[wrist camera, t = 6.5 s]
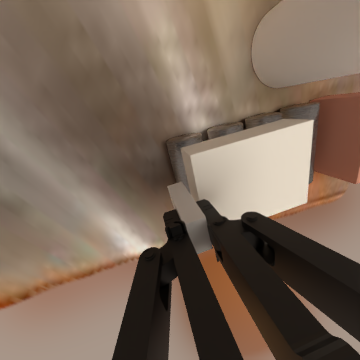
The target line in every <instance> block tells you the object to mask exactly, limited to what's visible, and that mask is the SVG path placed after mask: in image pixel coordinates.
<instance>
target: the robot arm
mask: <svg viewBox="0 0 360 360" xmlns="http://www.w3.org/2000/svg"><path fill="white" fill-rule="evenodd" d="M167 187H168V190H169V194H170V197H171V200H172V204H173V207H174V210H172V211H169V212H166V213H165V214H164V216H163V218H164V222H165V226H166V227H165V231H166V234H167V237H168V241H167V243H166V244H165V245H164V246H163V247H161V248H160V249H158V248H156V247H151V248H148V249H146V250H145V251H143V253H142V254H141V255H140V257H139V261H138V264H137V268H136V272H135V276H134V279H133V283H132V287H131V290H130V294H129V298H128V302H127V305H126V309H125V313H124V317H123V321H122V324H121V328H120V332H119V335H118V339H117V343H116V346H115V350H114V354H113V358H112V360H168V351H169V331H170V308H171V288H172V287H171V286H172V282H171V281H172V280H173V279H175V278H176V277H177V276H178V278H179V282H180V286H181V290H182V293H183V298H184V301H185V305H186V309H187V313H188V317H189V321H190V324H191V328H192V332H193V336H194V340H195V344H196V347H197V352H198V356H199V359H200V360H243V358H242V356H241V353H240V351H239V348H238V346H237V344H236V341H235V339H234V337H233V335H232V332H231V330H230V328H229V326H228V323H227V321H226V319H225V317H224V314H223V312H222V310H221V307H220V305H219V303H218V300H217V298H216V296H215V294H214V291H213V289H212V287H211V285H210V282H209V280H208V278H207V275H206V273H205V271H204V269H203V267H202V264H201V262H200V260H199V257H198V255H197V254H199V253H202V252H204V251H207V250H210V249H212V248H213V247H212V245H213V246H214V249H215V253H216V258H217V261H219V260H220V262H221V264H222V266H223V267H224V269H225V271H226V273H227V275H228V276H229V278H230V280H231V282H232V283H233V285H234V287H235V289H236V290H237V292H238V294H239V296H240V297H241V299H242V301H243V303H244V305H245V306H246V308H247V310H248V312H249V313H250V315H251V317H252V319H253V320H254V322H255V324H256V326H257V327H258V329H259V331H260V333H261V334H262V336H263V338H264V340H265V342H266V343H267V345H268V347H269V349H270V350H271V352H272V353H273V356H274V357H275V359H276V360H360V355H359V354H358V352H357V351H356V350H354V349H353V348H352V347H351V346H350V345H349V344H348V343H347V342H345V341H344V340H343V339H341V338H338V337H335V336H332V335H331V334H330V333H328V332H327V330H326V329H324V327H323V326H322V325H321V324H320V323H319V322H318V321H317V319H316V318H315V317H314V316H313V315H312V314H311V313H310V311H309V310H308V309H307V308H306V307H305V306H304V305H303V303H302V302H301V301H300V300H299V299H298V298H297V297H296V296H295V294H294V293H293V292H292V291H291V290H290V289H289V288H288V286H287V285H286V284H288V285H289V286H290V287H291V288H293V289H294V290H295V291H296V292H298V293H299V294H300V295H301V296H303V297H304V298H305V299H306V300H308V301H309V302H310V303H311V304H313V305H314V306H315V307H316V308H318V309H319V310H320V311H321V312H323V313H324V314H325V315H327V316H328V317H329V318H330V319H332V320H333V321H334V322H336V323H337V324H338V325H339V326H340V327H342V328H343V329H344V330H346V331H347V332H348V333H349V334H350V335H352V336H353V337H354V338H356V339H357V340H358V341H359V342H360V264H359V263H357V262H355V261H353V260H351V259H349V258H347V257H345V256H343V255H341V254H339V253H337V252H335V251H333V250H331V249H329V248H327V247H325V246H323V245H321V244H319V243H317V242H315V241H313V240H311V239H309V238H307V237H305V236H303V235H301V234H299V233H297V232H295V231H293V230H291V229H289V228H288V227H286V226H284V225H282V224H280V223H278V222H276V221H274V220H272V219H270V218H268V217H266V216H264V215H262V214H260V213H257V212H252V211H251V212H246V213H244V214H242V216H241V219H238V220H229V219H228V218H226V217H225V216H221V215H220V214H219V213H218V211H217V210H216V209H215V208H214V207H213V205H211V203H210V202H209V201H208V200H205V199H203V200H200V201H197V202H195V200H194V199H193V197H192V196H191V194H190V193H189V192H188V190H187V189H186V187H185V186H184V184H183V183H182V182H179V183H175V184H172V185H169V186H167ZM282 280H283V281H284V282H285V283H286V284H285V283H284V282H283V281H282Z"/></svg>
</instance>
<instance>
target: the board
mask: <svg viewBox="0 0 360 360" xmlns="http://www.w3.org/2000/svg"><path fill="white" fill-rule="evenodd" d="M313 122H314V120H309V119H281V120H278V121H274V122H271V123H267V124H264V125H260V126H257V127H253V128H249V129H246V130H242V131H239V132H235V133H232V134H228V135H225V136H221V137H217V138H214V139H210V140H207V141H203V142H200V143H196V144H193V145H189V146H185V147H182V148H180V149H181V153H182V158H183V162H184V167H185V171H186V176H187V180H188V184H189V189H190V193H191V196H192V197H193V199H194V200H195V202H197V201H200V200H203V199H205V200H208V201H209V202H210V203H211V205H213V207H214V208H215V209H216V210H217V211H218V213H219V214H220V215H221V216H225V217H226V218H228V219H229V220H238V219H241V216H242V214H244V213H246V212H251V211H252V212H257V213H260V214H262V215H264V216H266V217H268V216H271V215H274V214H277V213H279V212H282V211H285V210H288V209H291V208H293V207H296V206H299V205H302V204H304V203H307V195H308V183H309V171H310V159H311V147H312V134H313Z"/></svg>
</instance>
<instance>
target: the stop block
mask: <svg viewBox="0 0 360 360" xmlns="http://www.w3.org/2000/svg"><path fill="white" fill-rule="evenodd" d="M312 102H319V103H320V108H319V119H318V129H317V140H316V151H315V162H314V171H316V172H319V173H322V174H325V175H328V176H331V177H335V178H338V179H341V180H344V181H347V182H350V183H353V184H358V183H360V92H358V93H348V94H338V95H328V96H324V97H321V98H317V99H313V100H310V103H312Z"/></svg>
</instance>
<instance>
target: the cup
mask: <svg viewBox="0 0 360 360" xmlns="http://www.w3.org/2000/svg"><path fill="white" fill-rule="evenodd" d="M251 57H252V64H253V68H254V71H255V73H256V75H257V77H258V78H259V80H260V81H261V82H262V83H263V84H265V85H266V86H268V87H271V88H283V87H288V86H293V85H299V84H304V83H309V82H315V81H320V80H326V79H331V78H336V77H342V76H347V75H352V74H358V73H360V0H282V1H281V2H280V3H279V4H277V5H276V6H275V7H273V8H272V9H271V10H270V11H269V12H268V13H267V14H266V15H265V16H264V17H263V18H262V20H261V21H260V23H259V25H258V27H257V29H256V31H255V34H254V37H253V42H252V49H251Z"/></svg>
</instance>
